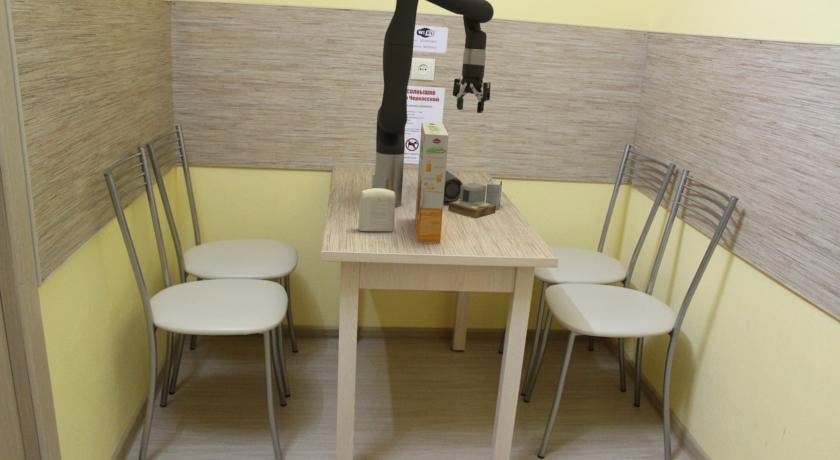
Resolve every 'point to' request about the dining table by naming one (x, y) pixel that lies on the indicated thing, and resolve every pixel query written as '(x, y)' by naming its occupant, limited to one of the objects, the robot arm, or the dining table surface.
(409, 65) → the robot arm
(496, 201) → the medicine box
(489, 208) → the walnut frame
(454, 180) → the bluetooth speaker
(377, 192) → the beige upright block
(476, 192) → the steel housing
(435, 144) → the cereal box
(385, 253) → the dining table surface
